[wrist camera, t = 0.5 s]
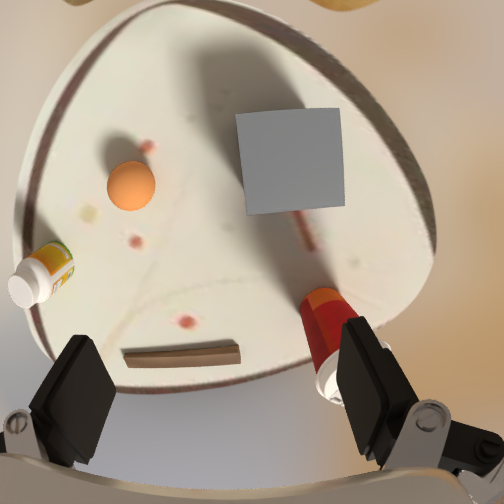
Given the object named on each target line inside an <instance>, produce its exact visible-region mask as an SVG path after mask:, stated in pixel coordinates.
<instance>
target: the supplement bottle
mask: <svg viewBox="0 0 504 504" xmlns="http://www.w3.org/2000/svg"><path fill="white" fill-rule="evenodd" d="M73 271H74V260H73V257H72V255H71V253H70V251H69V250H68V249H67V248H66V247H65V246H64V245H63V244H61V243H59V242H50V243H48V244H46V245H45V246H43V247H42V248H40V249H39V250H37V251H36V252H34V253H32V254H31V255H29V256H28V257H26V258H25V259H24V260H22V261H21V262H20V263H19V265H18V267H17V269H16V272H15V273H14V274H13V275H12V276H11V277H10V278H9V280H8V291H9V294H10V296H11V298H12V299H13V301H14V302H15V303H16V304H17V305H18V306H20V307H21V308H24V309H28V308H30V307H31V306H32V305H34V304H35V303H41V302H44V301H46V300H47V299H48V298H49V297H50V296H51V295H52V294H53V293H54V292H55V291H56V290H57V289H58V288H60V287H61V286H62V285H63V284H64V283H65V282H66V281H67V280H68V279H69V278H70V277H71V276H72V274H73Z"/></svg>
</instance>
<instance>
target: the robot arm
mask: <svg viewBox="0 0 504 504" xmlns="http://www.w3.org/2000/svg"><path fill="white" fill-rule="evenodd" d="M336 382H337V386H338V389H339V392H340V395H341V398H342V401H343V404H344V407H345V410H346V413H347V416H348V419H349V422H350V425H351V428H352V431H353V434H354V437H355V441H356V443H357V447H358V450H359V453H360V454H361V455H365V456H366V459H367V461H370V460H374V459H376V462H377V464H378V465H380V468H379V470H378V471H373V472H368V473H364V474H359V475H353V476H348V477H344V478H338V479H333V480H327V481H321V482H315V483H308V484H300V485H293V486H284V487H274V488H260V489H238V490H209V489H208V490H207V489H187V488H173V487H162V486H154V485H147V484H140V483H134V482H127V481H121V480H116V479H112V478H106V477H102V476H98V475H93V474H90V473H86V472H81V471H78V470H76V469H75V467H74V464H73V463H74V461H76V462H79V463H83V464H87V465H88V462H89V460H90V459H91V458H92V457H93V456H94V453H95V450H96V447H97V444H98V441H99V438H100V435H101V432H102V429H103V427H104V424H105V421H106V418H107V416H108V413H109V410H110V407H111V405H112V402H113V400H114V397H115V394H116V388H115V385H114V383H113V381H112V379H111V377H110V375H109V374H108V372H107V370H106V368H105V366H104V363H103V361H102V359H101V357H100V355H99V353H98V351H97V349H96V347H95V344H94V342H93V340H92V339H90V338H89V337H88V336H87V335H73V336H72V337H71V339H70V340H69V342H68V343H67V345H66V346H65V348H64V349H63V351H62V352H61V354H60V355H59V357H58V359H57V360H56V362H55V363H54V365H53V366H52V368H51V370H50V371H49V373H48V374H47V376H46V378H45V379H44V381H43V382H42V384H41V386H40V387H39V389H38V391H37V393H36V395H35V396H34V398H33V399H32V401H31V403H30V405H29V408H30V409H31V410H32V411H31V413H29V412H28V411H26V410H24V409H18V410H15V411H13V412H11V413H10V414H9V415H8V416H7V417H6V419H5V421H4V424H3V430H4V431H3V432H1V433H0V504H473V502H472V500H474V501H475V502H477V503H478V504H504V441H503V439H502V438H501V437H500V436H499V435H498V434H496V433H493V432H490V431H486V430H483V429H480V428H476V427H473V426H469V425H466V424H462V423H459V422H456V421H453V420H451V414H450V411H449V409H448V408H447V407H446V406H445V405H444V404H443V403H441V402H439V401H436V400H431V399H427V400H422V401H419V399H418V397H417V396H416V394H415V392H414V390H413V388H412V387H411V385H410V383H409V381H408V379H407V378H406V376H405V374H404V373H403V371H402V369H401V367H400V366H399V364H398V362H397V361H396V359H395V357H394V355H393V354H392V352H391V351H390V349H389V348H382V346H381V344H380V342H379V341H378V339H377V337H376V336H375V334H374V332H373V331H372V329H371V327H370V325H369V324H368V322H367V320H366V319H365V317H364V316H360V317H353V318H348V319H347V323H343V324H342V330H341V339H340V348H339V356H338V364H337V371H336ZM469 494H470V495H472V496H473V497H472V500H471V498H470V496H469Z"/></svg>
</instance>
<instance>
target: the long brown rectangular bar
mask: <svg viewBox="0 0 504 504" xmlns="http://www.w3.org/2000/svg"><path fill="white" fill-rule="evenodd" d="M123 358H124V360H125V362H126V364H127V366H128V368H177V367H201V366H217V365H231V364H241V356H240V350H239V345H234V346H225V347H215V348H204V349H192V350H178V351H162V352H141V353H125V355H124V357H123Z"/></svg>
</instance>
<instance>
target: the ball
mask: <svg viewBox="0 0 504 504" xmlns="http://www.w3.org/2000/svg"><path fill="white" fill-rule="evenodd" d="M154 191H155V178H154V175H153V173H152V172H151V170H150V169H149V168H148V167H147V166H146V165H144V164H143V163H140V162H137V161H128V162H124V163H122V164H120V165H118V166H117V167H116V168H115V169H114V170H113V171H112V172H111V174H110V176H109V179H108V182H107V192H108V196H109V198H110V200H111V201H112V203H113V204H114V205H115V206H117V207H118V208H120V209H122V210H126V211H134V210H138V209H140V208H142V207H144V206H145V205H147V204H148V202H149V201H150V200H151V198H152V197H153V194H154Z"/></svg>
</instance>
